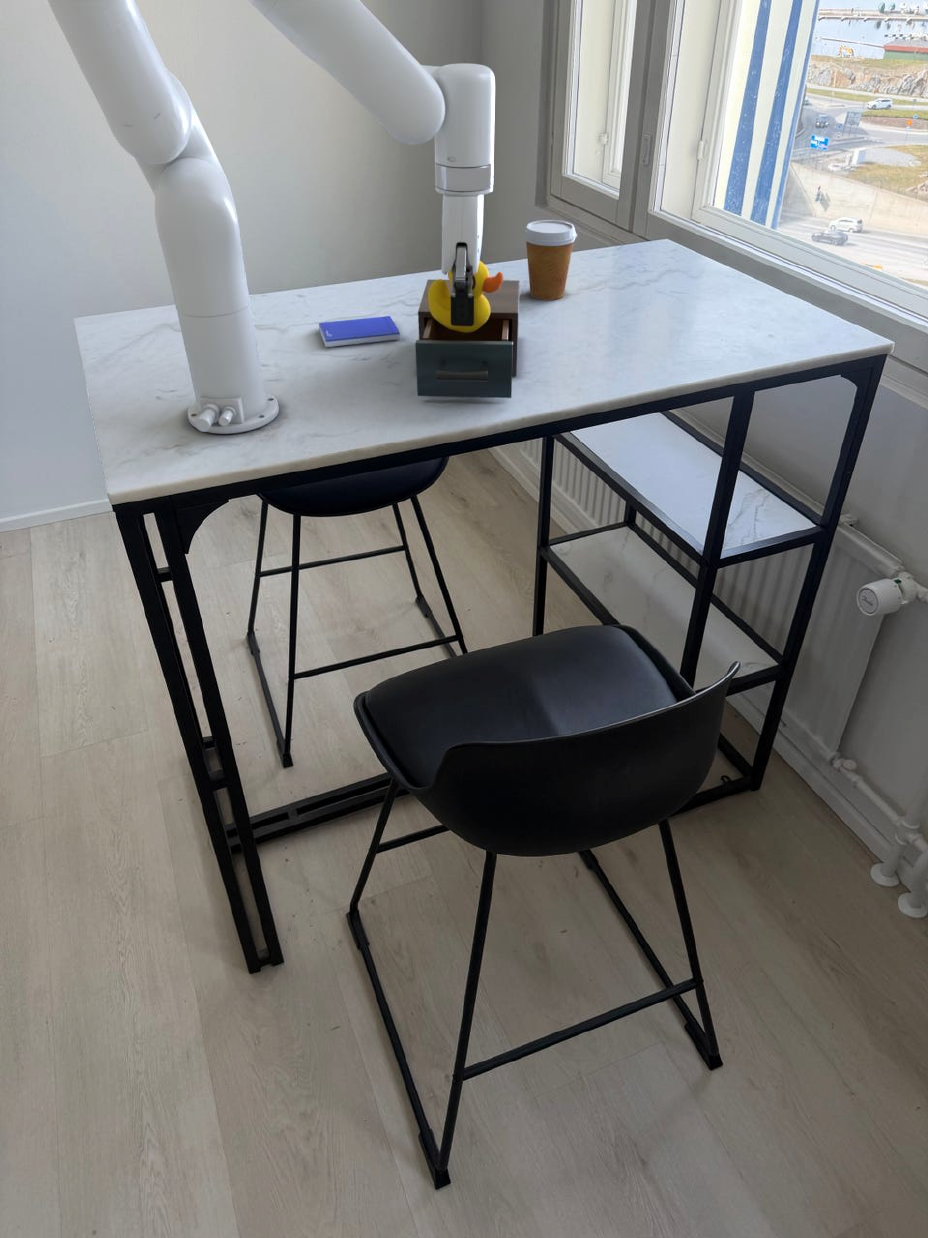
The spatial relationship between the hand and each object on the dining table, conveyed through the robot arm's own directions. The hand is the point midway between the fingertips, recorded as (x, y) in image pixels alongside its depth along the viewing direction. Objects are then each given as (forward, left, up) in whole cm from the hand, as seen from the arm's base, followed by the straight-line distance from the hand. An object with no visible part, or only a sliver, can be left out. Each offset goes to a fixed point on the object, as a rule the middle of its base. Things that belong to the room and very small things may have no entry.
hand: (463, 315), depth 123 cm
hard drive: (+20, +19, -11) cm, 30 cm away
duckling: (0, 0, -2) cm, 2 cm away
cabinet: (+12, 0, -11) cm, 16 cm away
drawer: (-1, 0, -10) cm, 10 cm away
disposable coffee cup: (+42, -13, -11) cm, 46 cm away
